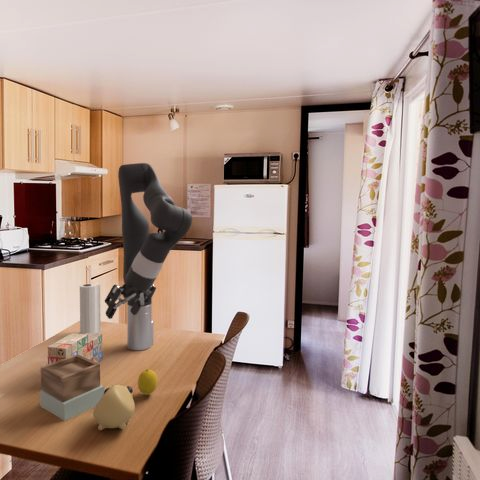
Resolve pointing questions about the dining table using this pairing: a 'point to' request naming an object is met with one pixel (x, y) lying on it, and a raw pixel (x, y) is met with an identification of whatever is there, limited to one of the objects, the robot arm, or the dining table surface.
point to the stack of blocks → (77, 347)
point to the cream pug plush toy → (115, 407)
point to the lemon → (147, 381)
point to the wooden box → (70, 377)
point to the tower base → (71, 403)
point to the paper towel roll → (90, 309)
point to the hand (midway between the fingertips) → (121, 314)
